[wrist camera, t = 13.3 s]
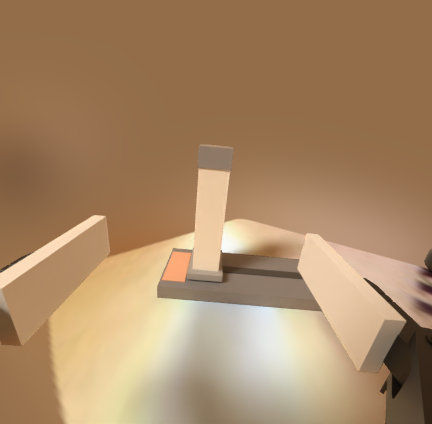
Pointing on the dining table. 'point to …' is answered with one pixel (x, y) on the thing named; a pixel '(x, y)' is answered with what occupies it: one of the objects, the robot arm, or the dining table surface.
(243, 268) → the switch board
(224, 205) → the lever
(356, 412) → the dining table surface
